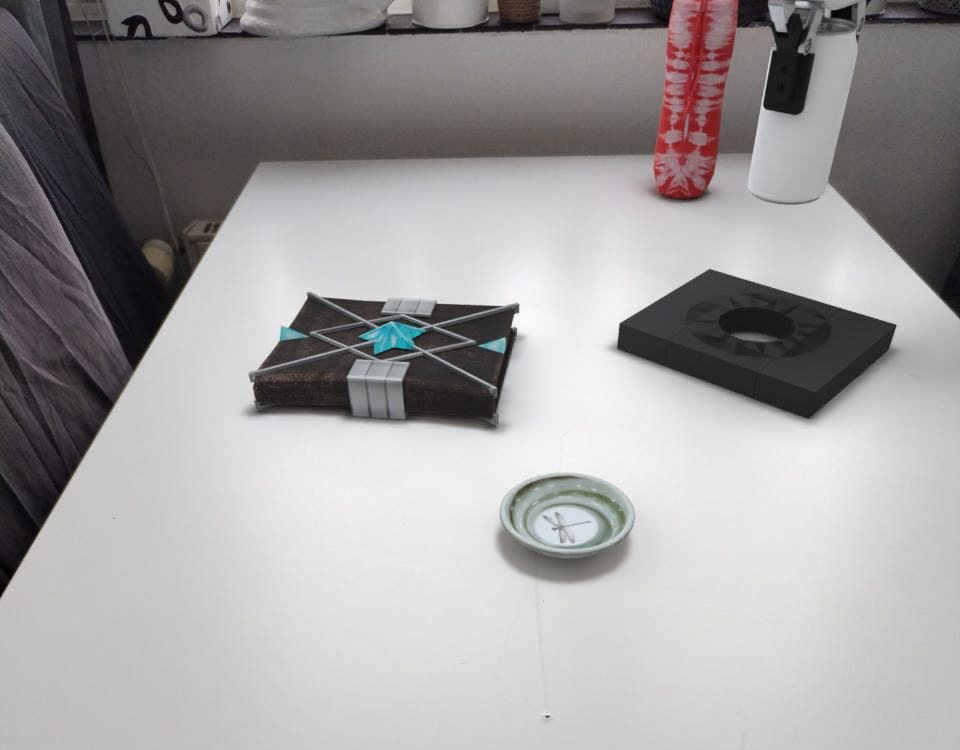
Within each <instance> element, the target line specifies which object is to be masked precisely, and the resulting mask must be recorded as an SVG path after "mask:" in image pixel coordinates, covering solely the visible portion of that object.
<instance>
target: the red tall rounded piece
mask: <svg viewBox="0 0 960 750" xmlns="http://www.w3.org/2000/svg"><path fill="white" fill-rule="evenodd" d="M738 12H739V0H673V2H672V7H671V12H670V18H669V22H668V31H667V41H666V47H665V48H666V51H665V80H664V91H663V100H662V107H661V113H660V118H659V124H658V130H657V136H656V142H655V148H654V158H653V174H654V179H655V184H656V189H657V190H658V192H659V193H660V194H661V195H664V196H666V197H668V198H672V199H677V200H680V199H681V200H684V199H685V200H687V199H689V200H690V199H693V198H698V197H700V196H701V195H703V194H704V193H705V192H706V190H707V189H708V187H709V185H710V183H711V181H712V180H713V177H714V175H715V170H716V164H717V160H718V153H719V144H720V143H719V142H720V132H721V122H722V121H721V120H722V110H723V108H722V107H723V102H724V97H725V90H726V84H727V79H728V75H729V70H730V66H731V61H732V57H733V53H734V48H735V47H734V46H735V40H736V31H737V27H738Z"/></svg>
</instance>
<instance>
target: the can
mask: <svg viewBox="0 0 960 750" xmlns="http://www.w3.org/2000/svg"><path fill="white" fill-rule="evenodd" d="M800 17H801V16H800ZM807 19H808V16H802V17H801V21H802V25H803V29H804V28H805V25H806V22H807ZM857 29H858V25H857V24H856V23H854V22H852V21H849V20H845V19H839V18H830V17H825V16H823V17H822V20H821V22H820V25H819V28H818V31H817V33H816V36H815V39H814V42H813V45H812V47H811V50H810V52H809V53H814V54H815V57H814V62H813V67H812V72H811V77H810V81H809V86H808V91H807V96H806V101H805V106H804V110H803V112H802V113H800V114H798V115H791V114H786V113H781V112H776V111H770V110H766V109H765V108H764V107H763V101H764V96H765V90H766V84H767V79H768V73H769V68H770V62H771V56H772V50H771V49H770V55H769V59H768V66H767V70H766V77H765V81H764V86H763V94H762V98H761V104H760V110H759V115H758V121H757V127H756V132H755V139H754V145H753V150H752V156H751V161H750V166H749V167H750V168H749V173H748V179H747V189H748V190H749V192H750V194H751V195H752V196H753V197H754V198H756V199H758V200H761V201H763V202H766V203H771V204H776V205H785V206H786V205H790V206H793V205H794V206H795V205H806V204H811V203H813V202H815V201H817V200H818V199H820V198H821V196H823V195H824V194H825V192H826V190H827V186H828V183H829V179H830V175H831V171H832V165H833V161H834V159H835V158H834V157H835V153H836V148H837V145H838V140H839V137H840V136H839V135H840V131H841V129H842V124H843V120H844V114H845V111H846V108H847V107H846V106H847V102H848V98H849V93H850V89H851V85H852V80H853V76H854V71H855V67H856V63H857V58H858V54H859V53H858V52H859V47H858V44H857V40H856V35H857V34H856V30H857Z"/></svg>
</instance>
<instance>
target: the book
mask: <svg viewBox="0 0 960 750" xmlns="http://www.w3.org/2000/svg"><path fill="white" fill-rule="evenodd" d="M306 296H307V298H306V300H305V301H304V303H303V304H302V306H301V308H300V309H299V311H298V312H297V314H296V316H295V318H294V319H293V320H292V322H291V323H290V325H289V326H288V327H286V326H284V325H281V324H280V332H279V341H278V342H277V344H276V345H275V347H274V348H273V349H272V350H271V351H270V353H269V354H268V356H266V358H265V359H264V360H263V362H262V363H261V364H260V365H259V367H258V368H257V369H256V370H254V371H253V370H252V371H249V372H247V373H248V377H249V382H250V383H252V391H253V395H254V396H253V397H254V400H253V402H254V403H253V404H254V407H255V410H256V411H260V410H263V409H267V408H271V407H274V406H277V405H299V406H301V405H302V406H304V405H305V406H332V407H333V406H335V407H345V408H346V407H349V408H350V412H351V416H352V417H359V418H360V417H362V418H373V419H374V418H376V419H391V420H403V421H404V420H406V418H407V415H408V413H409V412H410V413H411V412H412V413H424V414H425V413H426V414H436V415H437V414H438V415H448V416H458V417H459V416H460V417H469V418H470V417H471V418H480V419H482V420H483V421H485V422H487V423H489V424H490V425H492V426H495V427H497V426H498V425H499V422H500V421H499V420H500V419H499V414H497V410H498V405H499V401H500V397H501V391H502V388H503V384H504V380H505V376H506V373H507V368H508V364H509V361H510V356H511V354H512V350H513V346H514V342H515V338H517V337H518V328H517V326H513V322H514V318H515V315H517V314H519V313H520V303H519V302H514V303H510V304H507V305H487V304H486V305H485V304H483V305H482V304H460V303H438V299H431V298H430V299H429V298H428V299H427V298H409V297H390V296H389V297H388V298H387V300H386V301H384V300H383V301H382V300H379V301H378V300H361V299H350V298H338V297H337V298H335V297H327V296H320V295H318V294H316V293H315V292H312V291H311V290H309V291H307V292H306Z"/></svg>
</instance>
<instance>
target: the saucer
mask: <svg viewBox="0 0 960 750" xmlns="http://www.w3.org/2000/svg"><path fill="white" fill-rule="evenodd" d="M635 512H636V511H635V508H634V505H633V503H632V501H631V500H630V498H629V497H628V495H627V494H625V493H624V491H622V490H621V489H620V488H619V487H617V486H616V485H614V484H613V483H611V482H609V481H607V480H604V479H602V478H600V477H596V476H593V475H590V474H584V473H579V472H578V473H577V472H550V473H545V474H540V475H535V476H533V477H530V478H527V479H525V480H523V481H521V482H519V483H517V484H516V485H514V486H513V487H512V488H511V489H510V490H509V491H508V492H507V493H506V494H505V495H504V497H503V498H502V500H501V503H500V507H499V520H500V523H501V526H502V528H503V529H504V531H505V532H506V533H507V534H508V535H509V536H510V537H511V538H512V539H513V540H514V541H516V542H517V543H518V544H520V545H521V546H524V547H525V548H527V549H529V550H531V551H533V552H535V553H538V554H541V555H544V556H546V557H547V556H548V557H552V558H557V559H558V558H559V559H581V558H587V557H591V556H595V555H597V554H600V553H603V552H606V551H608V550H611V549H612V548H614V547H616V546H618V545H619V544H620V543H621V542H623V541H624V540H625V539H626V538H627V537H628V536H629V534H630V533H631V531H632V530H633V528H634V524H635V520H636V513H635Z"/></svg>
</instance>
